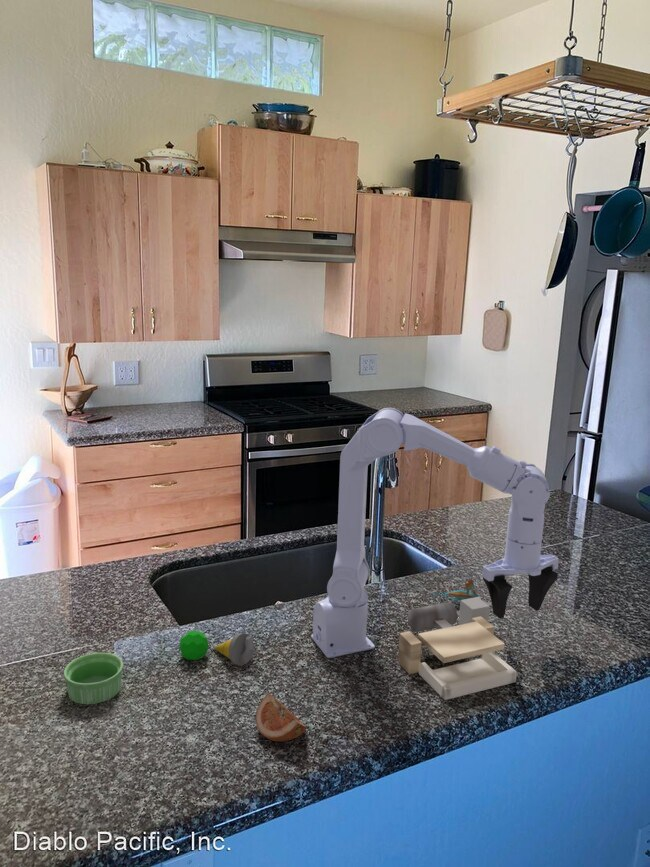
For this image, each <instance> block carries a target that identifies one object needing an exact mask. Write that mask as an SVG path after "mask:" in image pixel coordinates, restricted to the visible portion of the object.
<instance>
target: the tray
mask: <svg viewBox="0 0 650 867" xmlns="http://www.w3.org/2000/svg"><path fill="white" fill-rule="evenodd" d="M517 673H518V672H517V670H516V669H514V668H513V667H512V666H511V665H509V664H508V662H506V661H505V660H503V659H502V658H501V657H500V656H498V655H497V653H495V651H494V652H489V653H485V654H482V657H481V658H477V659H473V660H469V661H464V662H461V663H457V664H453V665H447V666H445V667H439V668H434V669H432V668H431V667H430V666H429V665H428V664H427V663H426V662H425V661H424V662H420V663H419V672H418V675H419V676H420V677H421V678H422V679H423V680H424V681H425V682H426V683H427V684H428V685H429V686H430V687H431V688H432V689H433V690H434V691H435V692H436V693H437V694H438V695H439V696H440V697H441V698H442V699H443V700H444V701H448V700H451V699H455V698H458V697H462V696H463V697H464V696H467V695H470V694H474V693H478V692H482V691H486V690H489V689H495V688H498V687H502V686H507V685H510V684H513V683H516V682H517V675H518V674H517Z"/></svg>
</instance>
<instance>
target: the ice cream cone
mask: <svg viewBox="0 0 650 867" xmlns="http://www.w3.org/2000/svg"><path fill="white" fill-rule="evenodd" d="M213 649H214V650H216V651H217V652H219V653H220V654H221V655H223V656H225V657H226V658H228V659H230V661H231V663H232V664H234V666H240V667H242V666H244V665H246V664H247V665H248V663H249V662H250V661H252V658H253V656H254V654H255V653H256V651H257V650H256V649H255V646H254V638H253V636H252V635H250V634H248V633H243V632H242V633H236V634H234V636H233V637H232V638H230V639H229V640H227V641H224V642H222V643H220V644H217V645H216V646H214V647H213Z"/></svg>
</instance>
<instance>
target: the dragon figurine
mask: <svg viewBox="0 0 650 867" xmlns="http://www.w3.org/2000/svg"><path fill="white" fill-rule="evenodd" d="M467 581H468V582H466V581H464V584H465V585H464V587H465V590H462V589H457V590H452V591H450V592H445V593H444V594H441V593H439V592H436V591H435V592H432V591H431V592H430V593H431V594H436V595H438V596H443V597H447V596H448V597H450V599H451V600H454V601H459V602H460V600H464V599H469V598H474V597H478V598H479V595H478V592H476V589H475V588H476V586H475V584H474V581H473V579H472V578H470V579H467ZM470 591H471V592H470Z"/></svg>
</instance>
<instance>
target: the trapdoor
mask: <svg viewBox="0 0 650 867" xmlns="http://www.w3.org/2000/svg"><path fill="white" fill-rule="evenodd" d="M457 621H458V612H457V609H456V606H455V605H454V603H452V602H450V601H447V602H441V603H437V604H431V605H426V606H425V605H424V606H422V607H416V608H411V609H409V610H408V613H407V622H408V625H409V627H410V630H412V631H413V632H414V633H417V632H420V633H417V634H418V635H417V639H418V640H420V641H421V642H422V645H424V647H426V648H427V649H428V650H429V651H430V652H431V653H432V654H433V655H434V656H435V657H437V659H439V661H441V663H443V664H446V663H447V664H448V663H451V662H454V661H458V660H463V659H468V658H472V657H476V656H480V655H481V654H485V653H489V652H494V653H495V652H497V651H503V650H505V645H506V644H505V643H504V642H503V641H502V640H500V639H499V638H498V637H497V636H496V635H495V634H494V635H493V634H492V633H490V632H489V631H488V630H487V629H485V628H484V627H483V626H482V625H480V624H479V623H478V622H471V623H466V624H462V625H461V624H458V625H455V624H456V623H457ZM453 625H454V626H453ZM432 629H433V630H432ZM427 630H430V631H427ZM422 631H425V632H422Z"/></svg>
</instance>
